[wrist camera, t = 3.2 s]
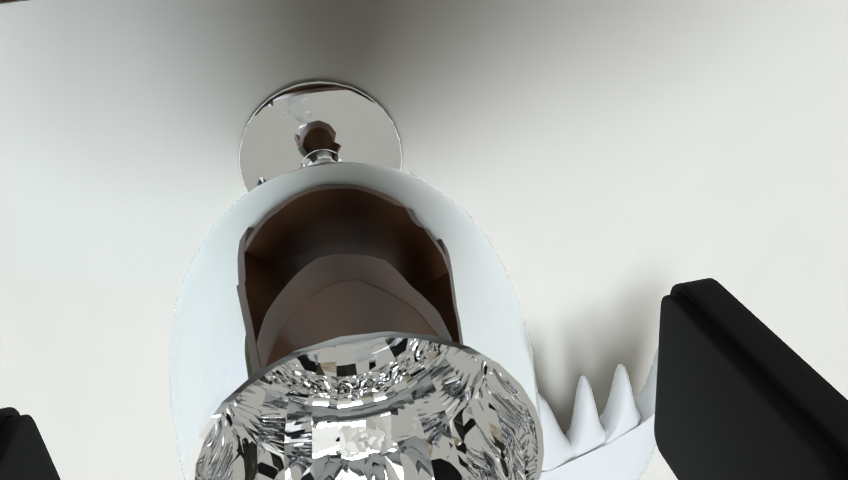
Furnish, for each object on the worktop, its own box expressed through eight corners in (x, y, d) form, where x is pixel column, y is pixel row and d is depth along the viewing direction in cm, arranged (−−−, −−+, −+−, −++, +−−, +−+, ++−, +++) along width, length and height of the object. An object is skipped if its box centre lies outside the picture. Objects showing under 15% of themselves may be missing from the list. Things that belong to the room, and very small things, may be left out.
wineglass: (369, 280, 22) (455, 657, 11) (181, 211, 20) (73, 590, 9) (461, 112, 20) (666, 374, 10) (264, 16, 18) (247, 214, 7)
